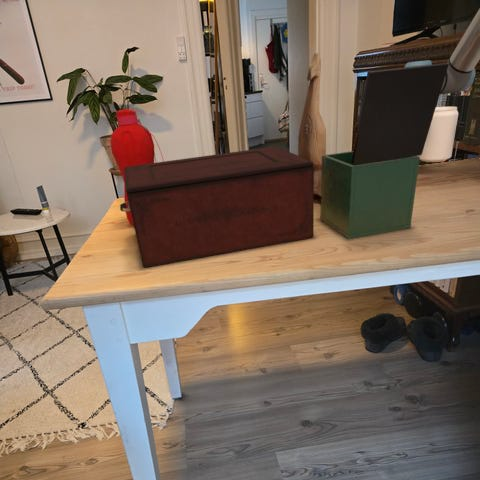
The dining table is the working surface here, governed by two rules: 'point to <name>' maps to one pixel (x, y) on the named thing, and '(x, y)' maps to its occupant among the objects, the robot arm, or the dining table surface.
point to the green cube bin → (367, 194)
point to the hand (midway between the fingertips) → (443, 134)
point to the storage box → (219, 203)
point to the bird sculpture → (313, 125)
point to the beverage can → (440, 135)
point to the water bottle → (131, 145)
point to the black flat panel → (397, 112)
